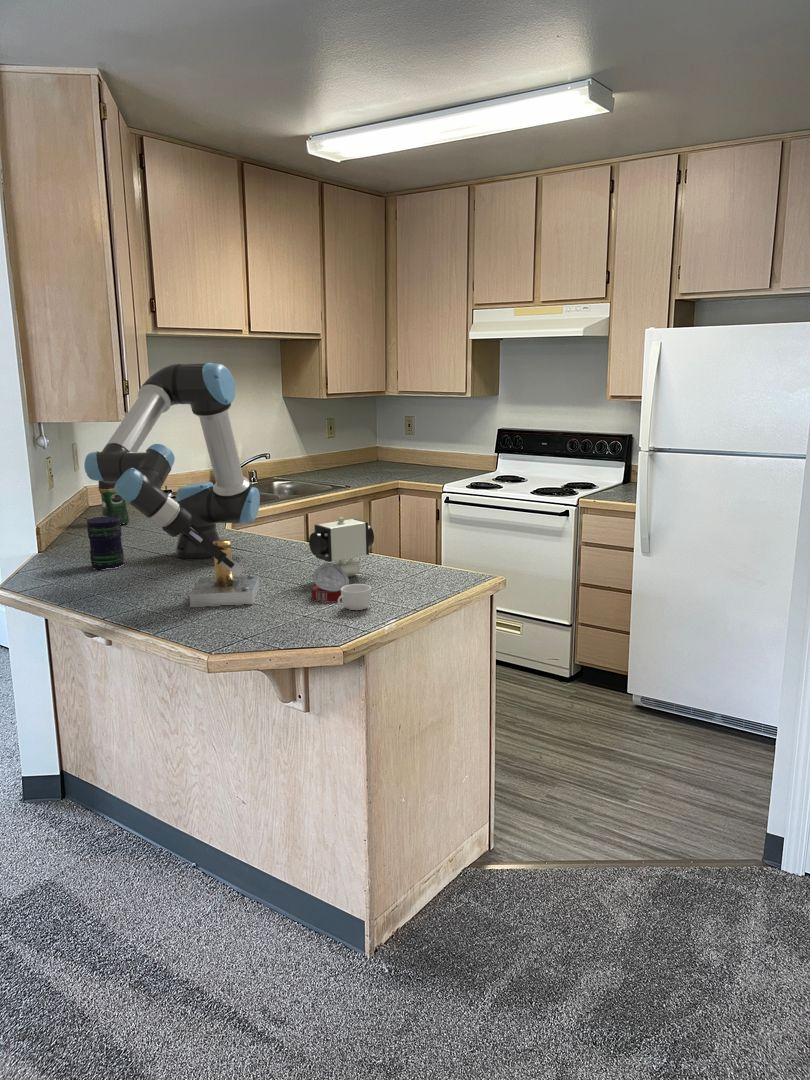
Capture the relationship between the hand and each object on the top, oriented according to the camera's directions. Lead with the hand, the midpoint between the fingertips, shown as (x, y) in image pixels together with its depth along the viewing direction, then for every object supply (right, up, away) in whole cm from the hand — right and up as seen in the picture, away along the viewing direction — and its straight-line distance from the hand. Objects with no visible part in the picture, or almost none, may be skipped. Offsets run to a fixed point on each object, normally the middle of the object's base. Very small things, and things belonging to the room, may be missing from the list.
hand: (237, 570), depth 215 cm
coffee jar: (-69, +14, +99) cm, 122 cm away
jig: (-3, -7, 0) cm, 8 cm away
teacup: (+32, -10, -12) cm, 35 cm away
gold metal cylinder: (-3, -4, -1) cm, 5 cm away
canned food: (+25, -7, -1) cm, 26 cm away
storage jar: (-48, 0, +35) cm, 59 cm away
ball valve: (+27, -3, +18) cm, 32 cm away
